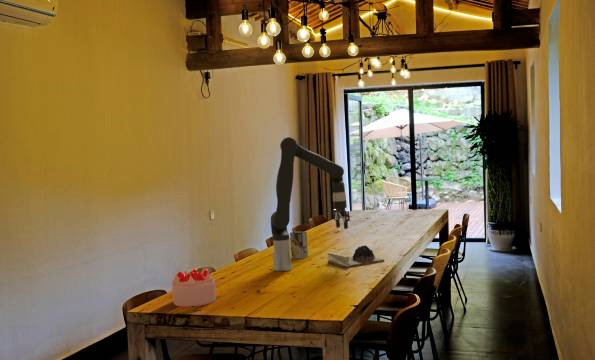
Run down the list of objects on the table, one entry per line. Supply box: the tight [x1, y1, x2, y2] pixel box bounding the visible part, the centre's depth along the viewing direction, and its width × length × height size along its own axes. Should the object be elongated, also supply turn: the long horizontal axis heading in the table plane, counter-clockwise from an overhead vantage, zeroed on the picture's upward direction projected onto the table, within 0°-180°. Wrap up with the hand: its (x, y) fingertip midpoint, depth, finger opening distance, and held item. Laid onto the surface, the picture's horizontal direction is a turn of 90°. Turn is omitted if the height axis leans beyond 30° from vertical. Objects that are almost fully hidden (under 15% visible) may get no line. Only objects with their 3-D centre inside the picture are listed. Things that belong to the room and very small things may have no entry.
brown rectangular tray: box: [327, 252, 385, 269], centre depth 352 cm, size 26×20×6 cm
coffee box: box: [289, 231, 309, 259], centre depth 381 cm, size 9×6×16 cm
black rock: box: [352, 244, 376, 261], centre depth 354 cm, size 13×14×10 cm
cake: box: [171, 268, 217, 308], centre depth 282 cm, size 20×20×14 cm
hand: (342, 228), depth 349 cm, fingers open, 8 cm apart
